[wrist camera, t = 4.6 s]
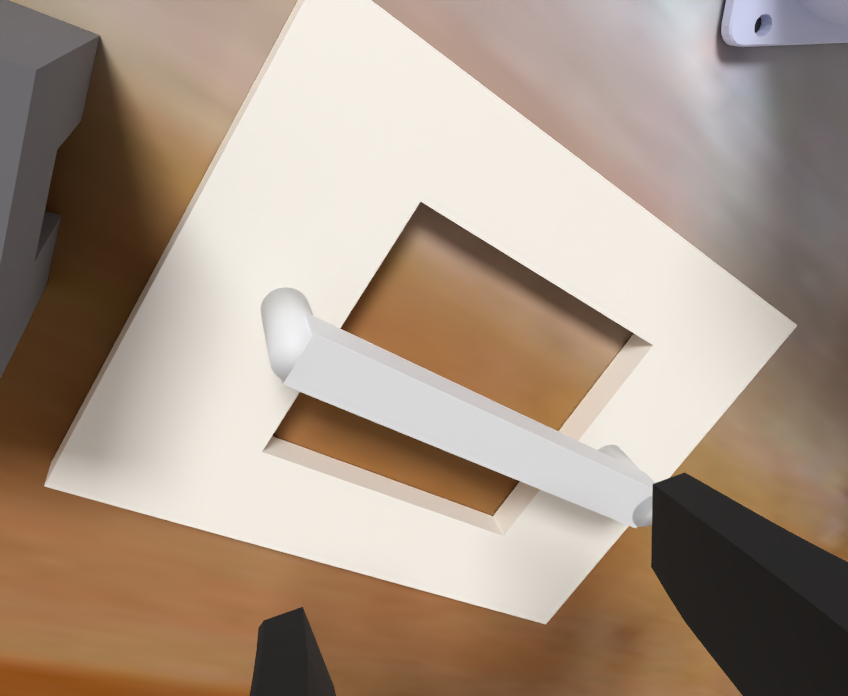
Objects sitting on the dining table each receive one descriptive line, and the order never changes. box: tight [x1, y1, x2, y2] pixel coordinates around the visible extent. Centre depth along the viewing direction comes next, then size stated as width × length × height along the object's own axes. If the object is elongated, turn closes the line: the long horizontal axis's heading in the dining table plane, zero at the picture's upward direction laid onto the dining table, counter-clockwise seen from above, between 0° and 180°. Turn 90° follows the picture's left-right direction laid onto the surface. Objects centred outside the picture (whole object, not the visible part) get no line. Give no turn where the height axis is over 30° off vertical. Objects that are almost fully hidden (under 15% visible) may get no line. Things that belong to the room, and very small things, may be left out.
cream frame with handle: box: [44, 0, 797, 624], centre depth 19 cm, size 18×14×4 cm
